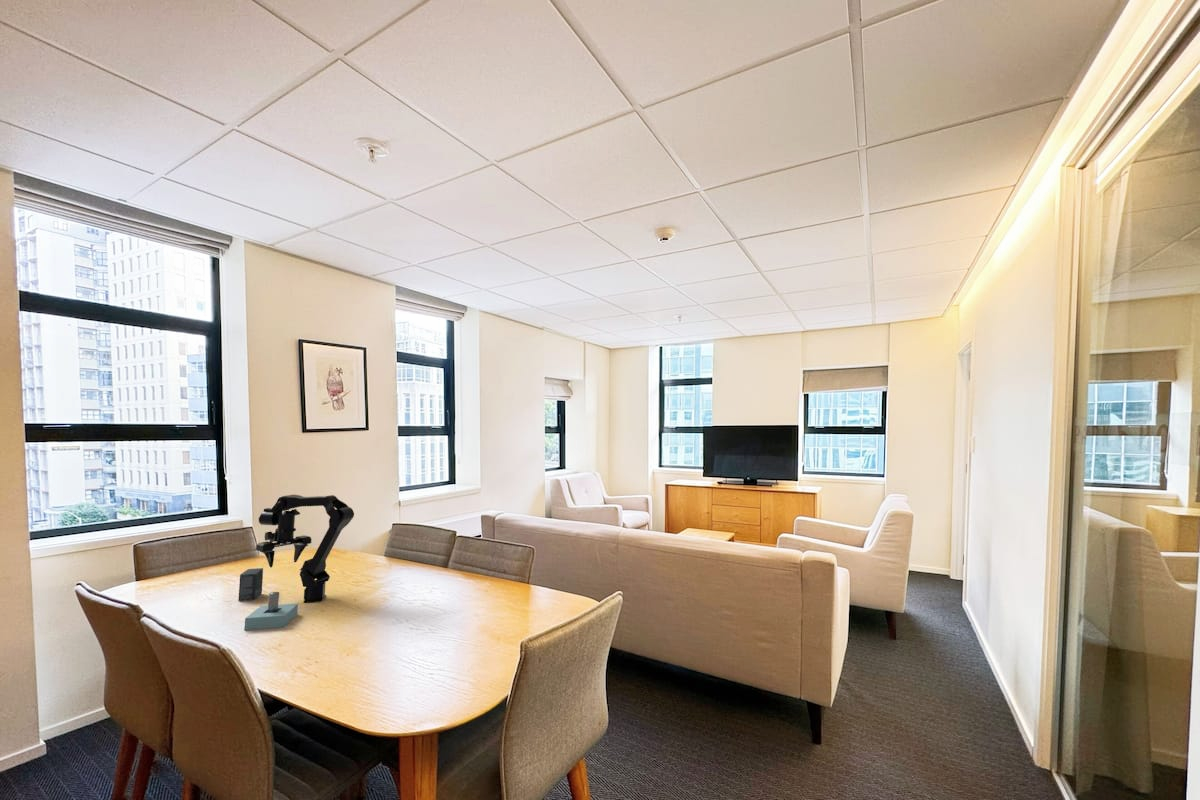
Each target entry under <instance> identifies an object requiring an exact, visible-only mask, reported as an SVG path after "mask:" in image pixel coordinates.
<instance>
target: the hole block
mask: <svg viewBox="0 0 1200 800" xmlns="http://www.w3.org/2000/svg"><path fill="white" fill-rule="evenodd" d="M298 606H299V603H286V604H285V603H283V604H282V603H281V604H278V612H275V613H268V604H266V605H260V606H259V607H258V608H256V609H255V610H254V611H252V612H251V613H250V614H249V615H247V616H246V617H245V618H244V628H243V629H244V631H251V630H252V631H253V630H255V631H256V630H267V629H279V628H282V629H283V628H286V626H288V625H289V624H290V622H291V621H292V620H293V619H294V618H295V617H297V616H298V609H299V607H298Z"/></svg>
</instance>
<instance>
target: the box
mask: <svg viewBox="0 0 1200 800" xmlns="http://www.w3.org/2000/svg"><path fill="white" fill-rule="evenodd" d="M263 576H264V568H263V567H261V568H258V567H257V568H248V569H246V570H245V571H243V572H242V573H240V574H239V586H238V587H239V588H238V602H243V600H247V601H255V600H256V599H257V598H258V597H259V596H261V595H262V594H261V593H263V579H264V578H263ZM254 599H255V600H254Z"/></svg>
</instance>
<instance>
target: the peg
mask: <svg viewBox="0 0 1200 800" xmlns="http://www.w3.org/2000/svg"><path fill="white" fill-rule="evenodd" d="M279 598H280V591H273V592H270V593H269V594H268V601H267V602H268V604H267V605H268V613H275V612H278V605H279Z"/></svg>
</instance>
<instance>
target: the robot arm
mask: <svg viewBox="0 0 1200 800" xmlns="http://www.w3.org/2000/svg"><path fill="white" fill-rule="evenodd" d="M321 506H323V507H324V509H325V512H326V514H327V515H328V516H329V518H328V529H327V531H326V532H325V533H324V536H323V538H322V540H321V542H320V544H319V545H318V548H317V549H316V552H315V553H314V555H313V556H312V558H310V559H307V560H304V562H303V565H302V567H301V568H300V569H299V571H300V573H299V576H300V581H301V583H302V587H304V589H303V591H304V592H303V602H302V603H314V602H315V601H319V602H322V601H324V600H325V598H326V597H327V594H326V585H327V584H326V582H329V580H330V577H331V576H330V574H329V573H328V571H326V568H327V562H326V560H327V559H328V557H329V555H330V552H331V551H332V549H333V547H334V545H335V543H336V541H337V539H338V538H339V536H340V534H341V532H342V530H343V529H344V528H346V527H347V526H348V525H349V524H350V523H351V521H352V520H353V519H354V517H355V512H354V510H353V508H352V507H350V506H349V505H347V504H346V503H345V502H343V501H341V499H339V498H338V497H337V496H335V495H334V494H330V495H321V496H320V495H319V496H318V495H317V496H302V495H299V494H288V495H283V496H282V495H281V496H280V497H278V499H277V501H276V502H275V504H274V505H273V506H272V507H271V508H270V507H267V508H264V509H263V512H261V513H260V514H259V517H258V523H259V524H260V525H262V526H277V528H275V531H274V532H273V531H266V532H264V540H265V541H262V542H258V543H257V544H256V546H255V551H258V552H260V553H263V554H264V556H265V558H266V560H267V563H268V565H269V568H273V564H274V560H275V558H274V557H275V552H276V551H275V550H274V549H275V548H279V547H284V546H290V545H293V547H294V555H293V563H297V561H298V560H299V558H300V556H301V554H302V553H303V551H304V550H305V548H307V547H308V546H309V545H310V544H312V540H313V539H312V536H309V535H298V536H295V537H294V533H295V531H296V530H297V529H296V527H295V522H296V516H299V515H301V512H299V511H298V509H297V508H300V507H321ZM315 603H316V602H315Z"/></svg>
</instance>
